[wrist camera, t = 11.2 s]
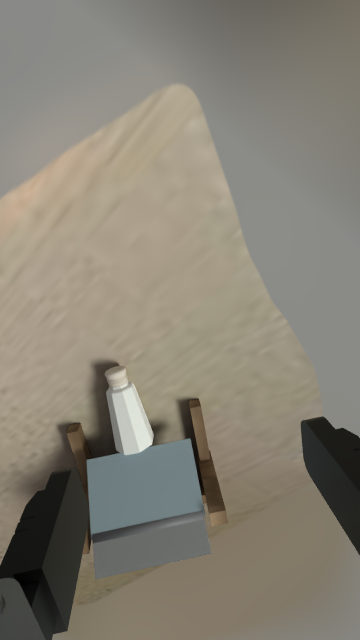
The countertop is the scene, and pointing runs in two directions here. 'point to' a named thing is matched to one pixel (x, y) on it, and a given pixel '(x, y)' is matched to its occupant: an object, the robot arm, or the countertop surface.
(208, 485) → the wooden frame stand
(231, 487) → the countertop surface
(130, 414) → the pepper shaker
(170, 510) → the trapdoor
